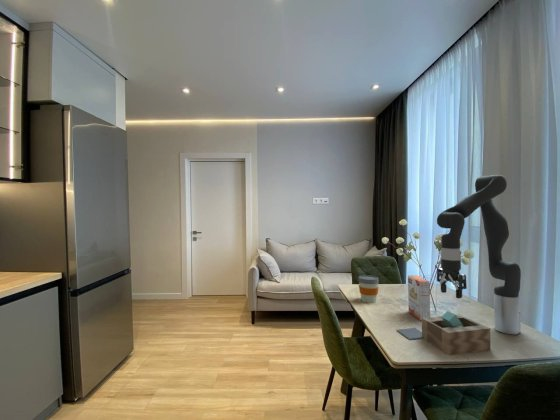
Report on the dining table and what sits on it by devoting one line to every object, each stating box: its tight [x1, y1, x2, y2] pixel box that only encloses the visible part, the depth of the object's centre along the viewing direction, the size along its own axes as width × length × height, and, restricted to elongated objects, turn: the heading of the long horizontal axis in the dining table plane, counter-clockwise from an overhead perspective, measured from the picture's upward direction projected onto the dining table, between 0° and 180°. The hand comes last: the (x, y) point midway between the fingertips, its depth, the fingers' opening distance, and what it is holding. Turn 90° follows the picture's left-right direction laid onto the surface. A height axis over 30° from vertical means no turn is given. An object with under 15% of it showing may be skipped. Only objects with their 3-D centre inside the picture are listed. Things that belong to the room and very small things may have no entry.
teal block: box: [441, 310, 464, 327], centre depth 126 cm, size 14×4×4 cm
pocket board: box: [421, 314, 491, 356], centre depth 125 cm, size 20×16×9 cm
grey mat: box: [396, 327, 424, 341], centre depth 135 cm, size 10×10×1 cm
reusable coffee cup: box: [358, 274, 380, 304], centre depth 185 cm, size 13×13×15 cm
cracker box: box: [407, 274, 431, 321], centre depth 158 cm, size 14×6×21 cm, turn 179°
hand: (451, 295), depth 125 cm, fingers open, 8 cm apart
